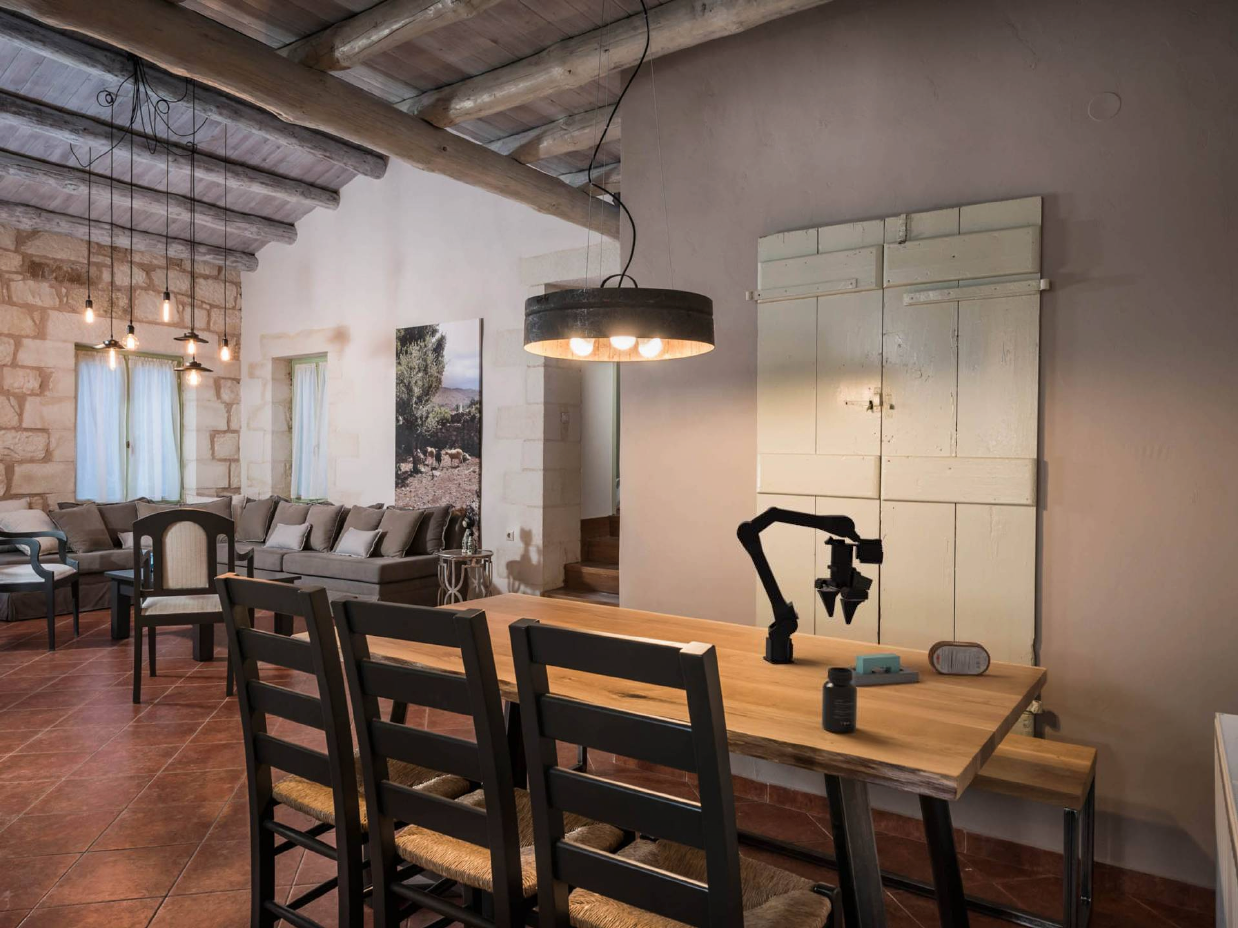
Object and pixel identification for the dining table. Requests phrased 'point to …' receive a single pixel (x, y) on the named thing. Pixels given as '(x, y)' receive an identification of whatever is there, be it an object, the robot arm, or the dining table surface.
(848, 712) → the supplement bottle
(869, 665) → the teal u-shaped block
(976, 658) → the tin
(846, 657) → the dining table surface
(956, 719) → the dining table surface
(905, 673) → the plate with rectangular holes
